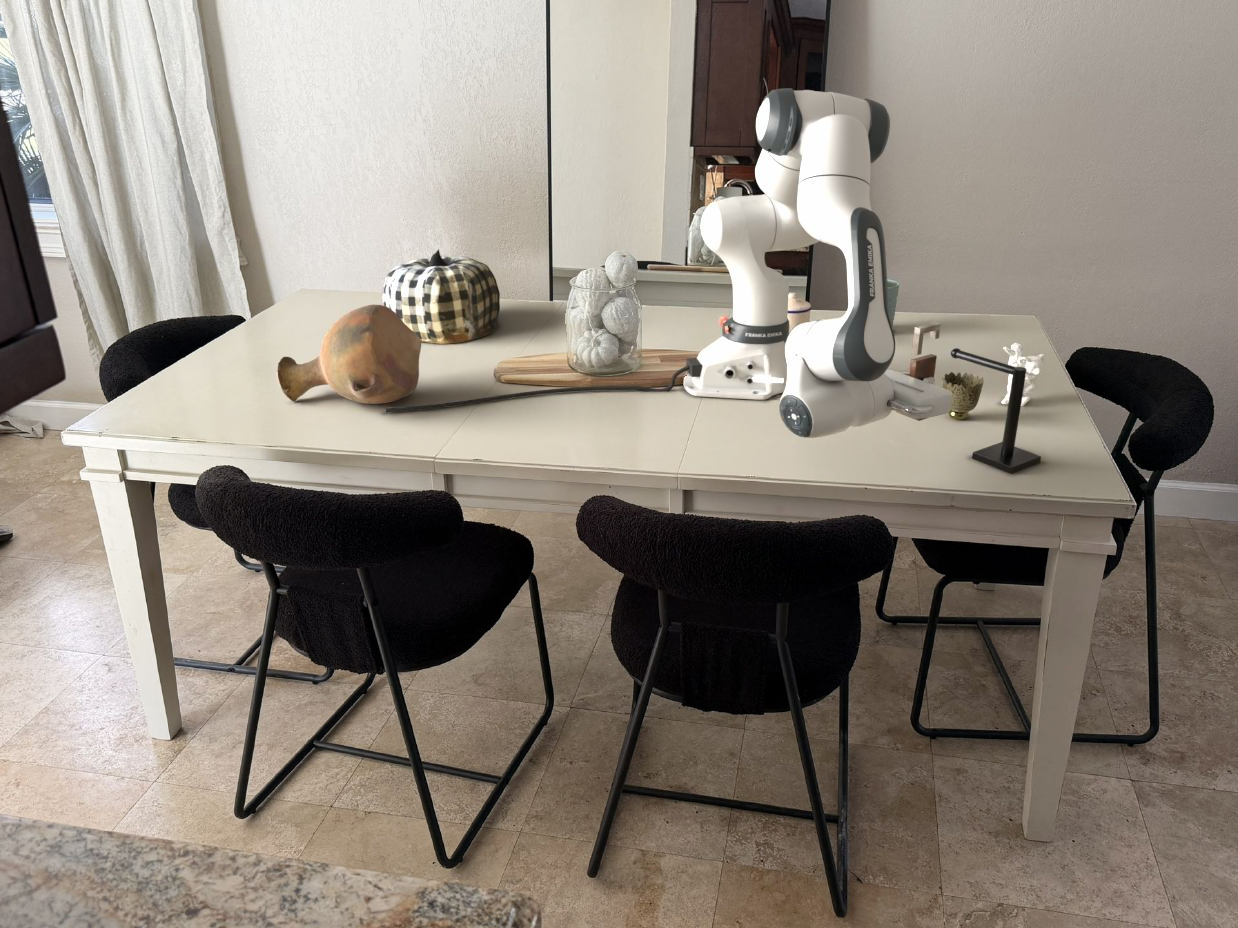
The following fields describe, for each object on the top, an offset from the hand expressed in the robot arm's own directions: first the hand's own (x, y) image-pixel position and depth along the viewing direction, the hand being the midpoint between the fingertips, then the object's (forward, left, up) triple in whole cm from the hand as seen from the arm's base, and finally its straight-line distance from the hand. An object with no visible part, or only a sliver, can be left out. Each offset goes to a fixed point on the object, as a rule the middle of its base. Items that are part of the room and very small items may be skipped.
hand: (924, 379), depth 170 cm
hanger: (-1, -1, -6) cm, 6 cm away
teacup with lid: (-13, +69, -15) cm, 72 cm away
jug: (-106, +33, -15) cm, 112 cm away
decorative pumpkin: (-96, +84, -15) cm, 128 cm away
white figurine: (+27, +27, -15) cm, 41 cm away
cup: (+13, +19, -15) cm, 28 cm away
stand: (+13, +3, -15) cm, 20 cm away
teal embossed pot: (+10, +77, -15) cm, 79 cm away
